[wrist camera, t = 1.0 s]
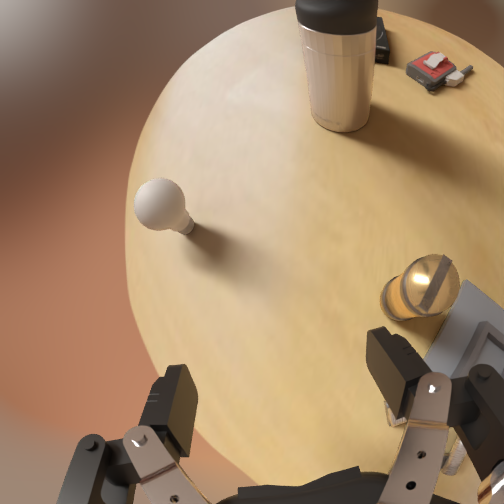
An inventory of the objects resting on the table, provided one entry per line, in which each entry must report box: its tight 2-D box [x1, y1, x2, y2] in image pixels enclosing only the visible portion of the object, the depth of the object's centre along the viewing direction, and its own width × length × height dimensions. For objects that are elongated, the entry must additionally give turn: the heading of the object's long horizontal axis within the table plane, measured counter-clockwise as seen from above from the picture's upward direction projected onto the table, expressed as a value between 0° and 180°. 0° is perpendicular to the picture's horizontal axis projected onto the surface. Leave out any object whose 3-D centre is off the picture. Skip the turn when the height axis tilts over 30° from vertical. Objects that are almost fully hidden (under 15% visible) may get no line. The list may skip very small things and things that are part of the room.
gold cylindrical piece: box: [380, 254, 460, 321], centre depth 24 cm, size 5×5×12 cm
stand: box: [423, 280, 504, 379], centre depth 22 cm, size 16×18×3 cm
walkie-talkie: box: [406, 51, 473, 91], centre depth 34 cm, size 9×4×20 cm
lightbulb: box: [134, 178, 194, 234], centre depth 33 cm, size 6×6×11 cm
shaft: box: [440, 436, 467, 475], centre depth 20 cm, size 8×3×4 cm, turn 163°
